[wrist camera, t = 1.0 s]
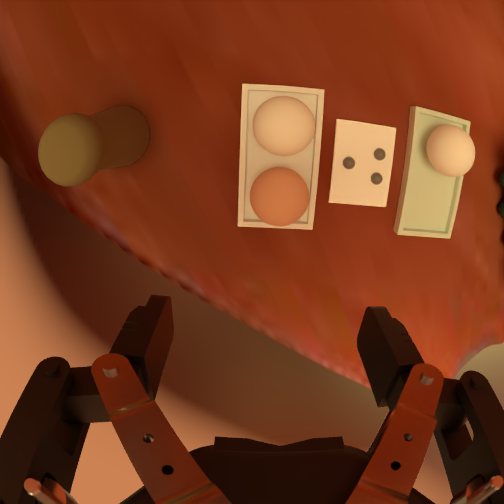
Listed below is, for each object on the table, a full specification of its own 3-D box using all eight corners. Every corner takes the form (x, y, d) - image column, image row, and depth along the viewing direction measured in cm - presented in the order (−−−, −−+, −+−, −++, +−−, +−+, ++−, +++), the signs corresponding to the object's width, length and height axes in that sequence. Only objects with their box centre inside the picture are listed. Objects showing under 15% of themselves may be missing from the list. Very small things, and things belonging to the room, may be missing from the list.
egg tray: (242, 84, 25) (242, 83, 24) (321, 90, 25) (324, 89, 24) (238, 222, 31) (237, 226, 29) (310, 225, 31) (312, 229, 30)
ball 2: (251, 161, 28) (250, 171, 23) (306, 164, 28) (316, 175, 23) (249, 214, 30) (247, 234, 25) (302, 216, 30) (310, 236, 25)
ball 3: (420, 117, 25) (447, 121, 21) (458, 128, 25) (487, 134, 21) (414, 166, 27) (440, 178, 23) (452, 173, 27) (480, 186, 23)
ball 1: (253, 95, 25) (253, 92, 21) (311, 99, 25) (322, 97, 21) (251, 150, 27) (250, 158, 23) (307, 153, 27) (318, 162, 23)
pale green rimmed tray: (410, 106, 25) (415, 106, 24) (464, 120, 25) (470, 121, 24) (393, 230, 31) (397, 234, 30) (444, 234, 31) (450, 238, 30)
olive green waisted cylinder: (153, 107, 26) (100, 108, 16) (146, 169, 28) (94, 202, 18) (97, 104, 25) (28, 109, 15) (92, 163, 28) (26, 193, 18)
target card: (335, 118, 26) (338, 119, 25) (393, 127, 26) (398, 128, 25) (327, 200, 30) (330, 204, 29) (383, 205, 30) (388, 209, 29)
